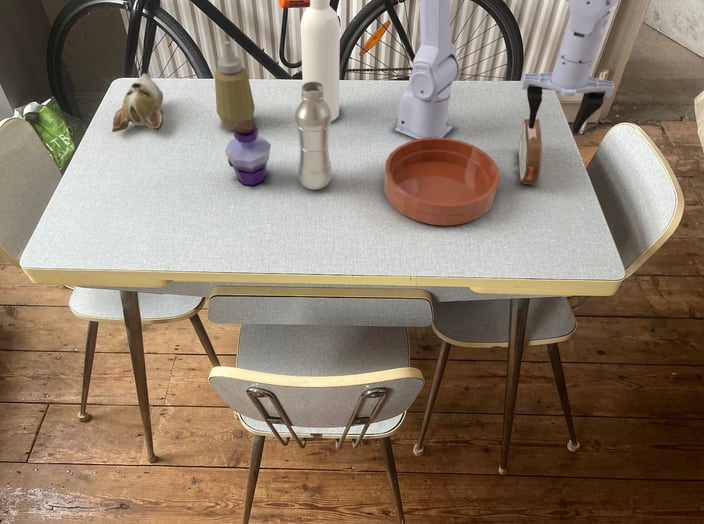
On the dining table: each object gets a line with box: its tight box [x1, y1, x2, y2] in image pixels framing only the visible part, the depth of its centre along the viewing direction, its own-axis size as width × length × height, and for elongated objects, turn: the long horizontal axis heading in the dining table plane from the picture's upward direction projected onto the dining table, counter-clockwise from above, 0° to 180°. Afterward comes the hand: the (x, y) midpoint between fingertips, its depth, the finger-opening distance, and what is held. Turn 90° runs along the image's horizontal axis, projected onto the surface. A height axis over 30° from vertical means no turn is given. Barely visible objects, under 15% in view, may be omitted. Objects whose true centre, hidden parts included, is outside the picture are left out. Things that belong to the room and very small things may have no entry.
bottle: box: [299, 0, 341, 122], centre depth 115 cm, size 8×8×30 cm
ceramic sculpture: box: [111, 72, 164, 133], centre depth 122 cm, size 11×9×15 cm
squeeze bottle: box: [214, 40, 255, 132], centre depth 117 cm, size 8×8×18 cm
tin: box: [518, 118, 543, 186], centre depth 109 cm, size 15×3×8 cm, turn 168°
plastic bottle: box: [294, 81, 333, 191], centre depth 103 cm, size 6×7×20 cm
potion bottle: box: [224, 119, 272, 187], centre depth 107 cm, size 9×9×12 cm
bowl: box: [383, 137, 500, 226], centre depth 106 cm, size 20×20×5 cm
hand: (552, 127), depth 103 cm, fingers open, 7 cm apart
